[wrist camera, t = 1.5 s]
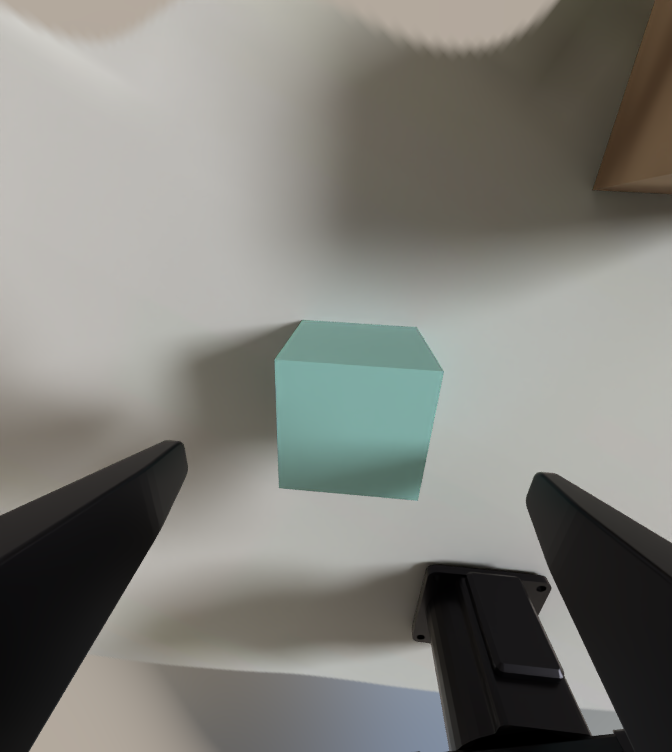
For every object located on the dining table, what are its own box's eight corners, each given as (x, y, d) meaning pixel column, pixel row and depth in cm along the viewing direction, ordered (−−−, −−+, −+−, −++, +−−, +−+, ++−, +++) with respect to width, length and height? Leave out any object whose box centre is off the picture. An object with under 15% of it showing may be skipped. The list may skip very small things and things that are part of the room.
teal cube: (401, 424, 14) (417, 500, 10) (302, 416, 14) (279, 487, 10) (416, 327, 12) (443, 371, 8) (302, 319, 13) (274, 359, 9)
